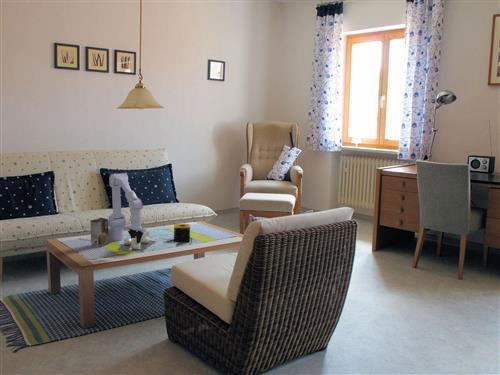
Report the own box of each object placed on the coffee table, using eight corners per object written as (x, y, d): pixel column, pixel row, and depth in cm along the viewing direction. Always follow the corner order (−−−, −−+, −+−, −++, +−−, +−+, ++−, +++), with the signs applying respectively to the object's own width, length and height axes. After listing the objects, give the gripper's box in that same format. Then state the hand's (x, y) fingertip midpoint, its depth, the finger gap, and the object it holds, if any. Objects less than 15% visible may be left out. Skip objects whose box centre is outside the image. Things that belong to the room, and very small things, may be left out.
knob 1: (132, 249, 298) (132, 239, 297) (130, 247, 303) (130, 237, 302) (141, 248, 300) (141, 239, 299) (139, 246, 305) (139, 236, 304)
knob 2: (143, 243, 311) (143, 234, 310) (138, 242, 315) (138, 232, 314) (150, 242, 316) (150, 232, 315) (145, 240, 319) (145, 231, 318)
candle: (174, 242, 322) (174, 227, 320) (173, 238, 332) (173, 223, 330) (190, 242, 324) (190, 227, 322) (189, 238, 334) (189, 223, 332)
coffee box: (101, 242, 317) (100, 217, 315) (109, 244, 314) (108, 218, 312) (90, 245, 309) (90, 220, 307) (98, 247, 306) (98, 221, 304)
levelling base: (116, 251, 299) (116, 244, 298) (132, 241, 322) (132, 234, 321) (142, 254, 296) (142, 246, 295) (156, 243, 319) (156, 236, 319)
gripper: (149, 220, 298) (149, 243, 300) (132, 217, 306) (133, 238, 308) (140, 222, 292) (140, 245, 294) (123, 219, 300) (123, 241, 303)
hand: (136, 242), depth 301 cm, fingers closed on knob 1, 4 cm apart
